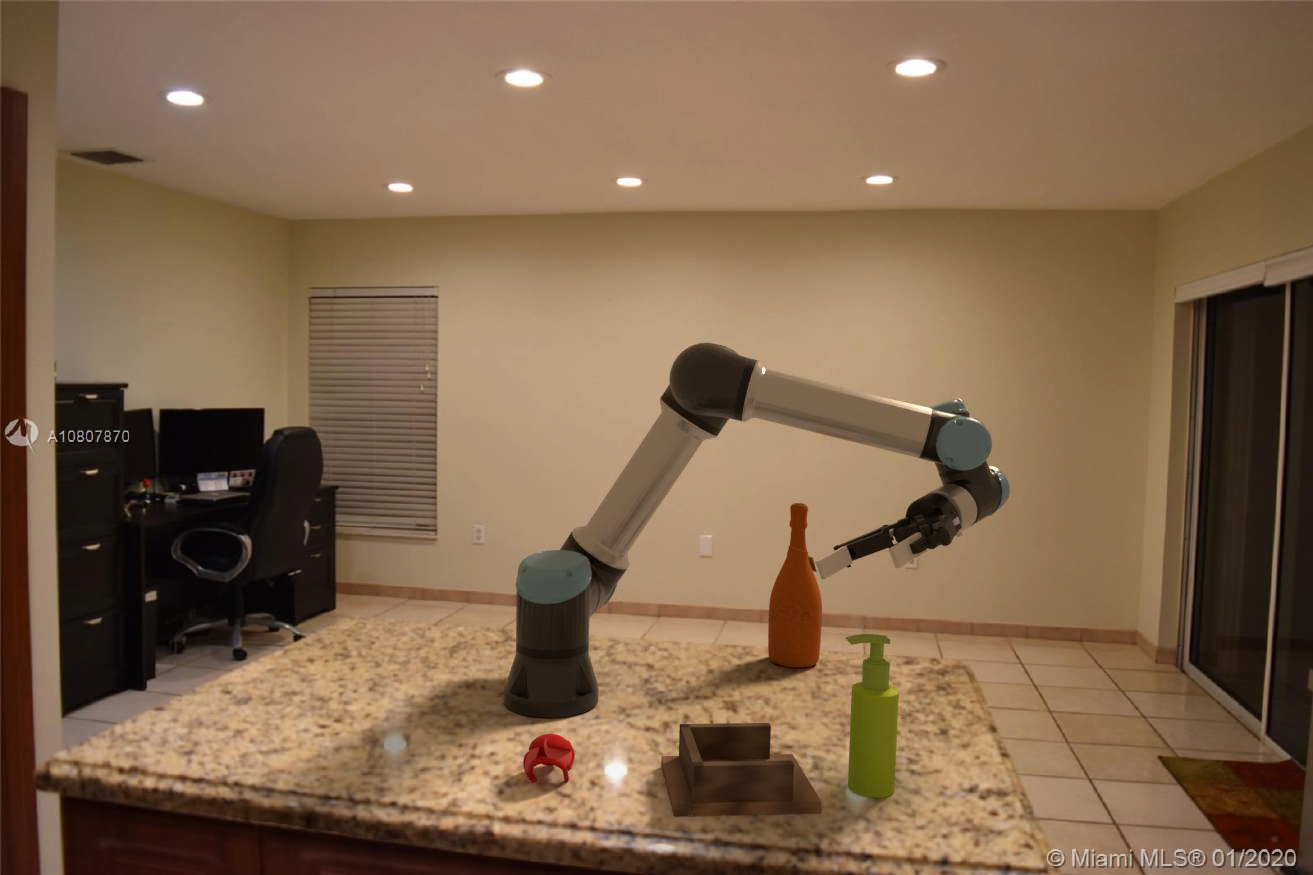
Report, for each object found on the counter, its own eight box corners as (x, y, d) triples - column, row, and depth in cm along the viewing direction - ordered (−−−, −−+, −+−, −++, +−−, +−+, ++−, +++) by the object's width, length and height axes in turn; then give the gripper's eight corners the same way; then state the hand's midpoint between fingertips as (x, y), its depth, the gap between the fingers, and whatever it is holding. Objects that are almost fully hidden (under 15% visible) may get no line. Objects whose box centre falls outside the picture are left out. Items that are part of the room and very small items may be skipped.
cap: (580, 766, 114) (584, 726, 119) (535, 753, 113) (541, 714, 118) (558, 800, 118) (562, 761, 123) (514, 788, 117) (521, 749, 122)
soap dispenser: (834, 778, 120) (840, 629, 119) (885, 778, 120) (891, 629, 119) (847, 798, 114) (854, 642, 113) (901, 798, 115) (907, 642, 113)
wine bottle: (819, 672, 164) (825, 508, 163) (765, 667, 166) (770, 505, 165) (820, 656, 174) (826, 501, 172) (769, 652, 176) (774, 498, 174)
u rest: (673, 816, 108) (675, 767, 108) (661, 766, 122) (662, 723, 122) (821, 813, 110) (822, 765, 110) (791, 764, 124) (793, 721, 123)
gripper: (1021, 526, 128) (939, 580, 115) (885, 549, 148) (801, 598, 134) (1002, 476, 128) (918, 525, 115) (869, 506, 148) (783, 550, 135)
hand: (855, 564), depth 125 cm, fingers open, 13 cm apart
